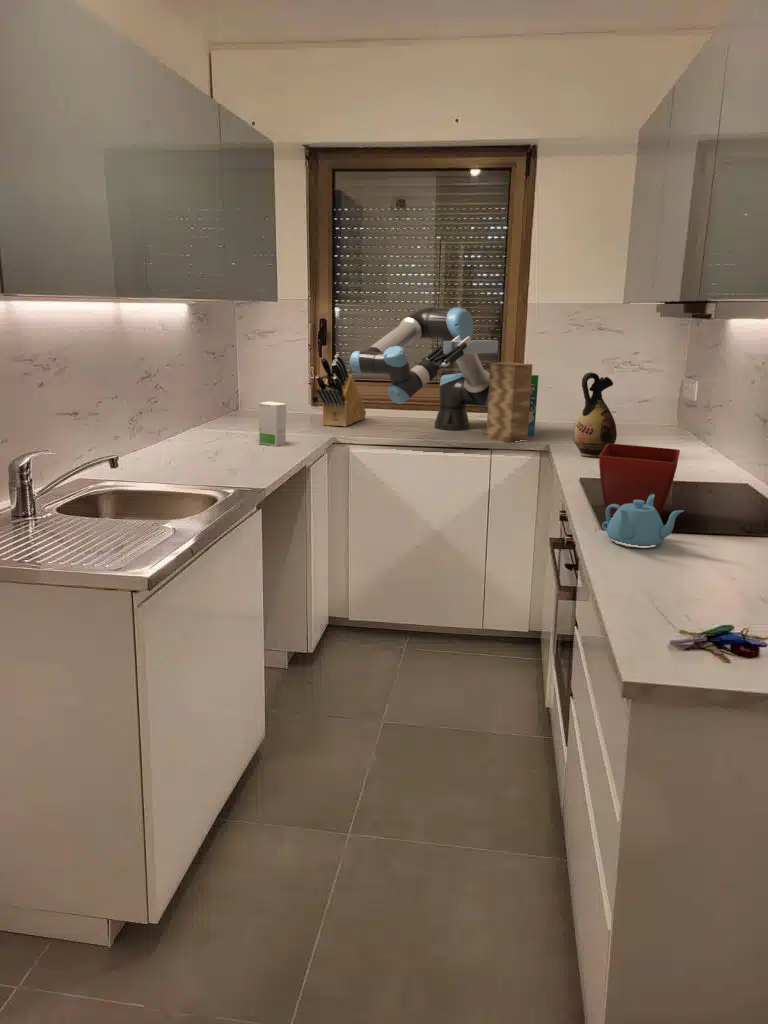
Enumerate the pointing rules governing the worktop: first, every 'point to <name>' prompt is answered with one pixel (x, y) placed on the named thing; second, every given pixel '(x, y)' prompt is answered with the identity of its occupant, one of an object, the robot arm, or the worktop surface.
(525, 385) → the oak box
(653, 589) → the worktop surface
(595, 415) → the ceramic jug
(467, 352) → the foil box
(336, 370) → the knife block
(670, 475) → the plant pot
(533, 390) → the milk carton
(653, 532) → the teapot
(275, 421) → the skincare box
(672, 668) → the worktop surface
